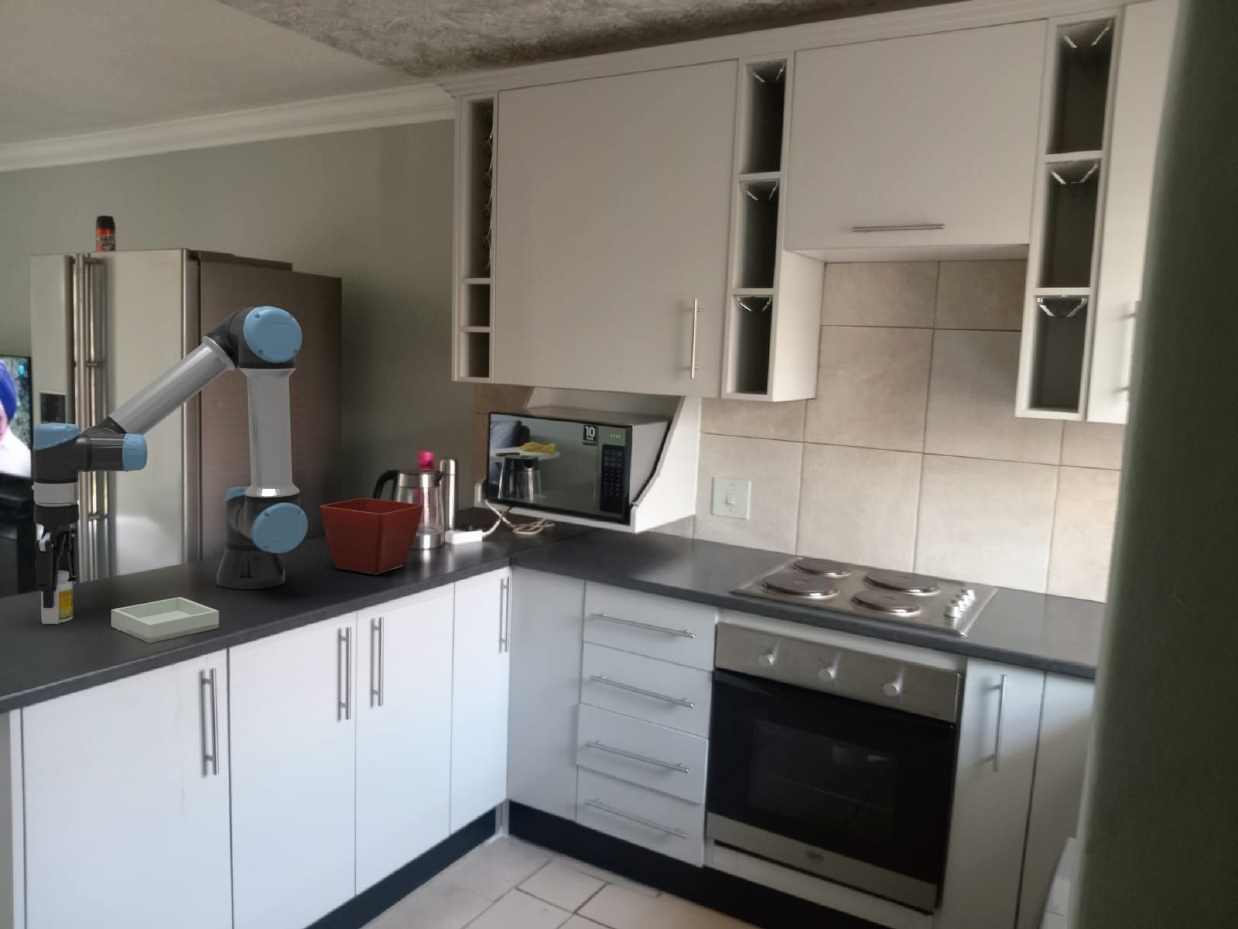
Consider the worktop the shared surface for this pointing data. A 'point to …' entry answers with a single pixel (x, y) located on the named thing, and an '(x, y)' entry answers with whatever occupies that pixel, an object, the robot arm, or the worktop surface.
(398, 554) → the plant pot
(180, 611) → the tray
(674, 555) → the worktop surface
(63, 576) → the supplement bottle
